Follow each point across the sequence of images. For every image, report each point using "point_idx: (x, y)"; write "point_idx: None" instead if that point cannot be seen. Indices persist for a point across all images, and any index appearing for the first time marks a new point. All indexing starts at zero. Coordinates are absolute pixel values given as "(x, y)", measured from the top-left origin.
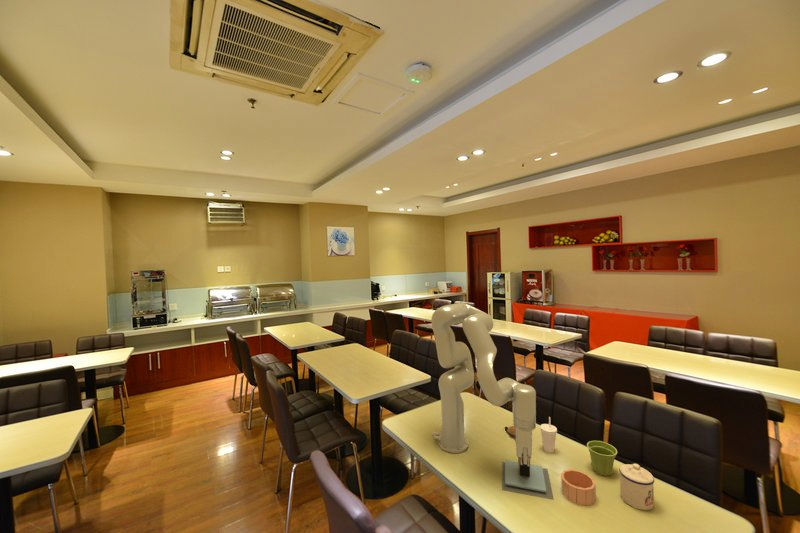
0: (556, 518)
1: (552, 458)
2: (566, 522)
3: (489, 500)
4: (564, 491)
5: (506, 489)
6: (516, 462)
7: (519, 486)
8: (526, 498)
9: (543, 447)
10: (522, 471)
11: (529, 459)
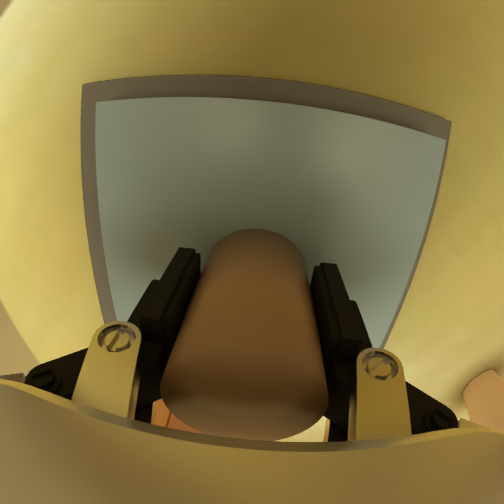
0: (37, 330)
1: (437, 396)
2: (41, 352)
3: (22, 35)
4: (159, 417)
5: (93, 112)
6: (413, 238)
7: (103, 214)
8: (77, 237)
9: (495, 378)
10: (145, 293)
11: (221, 435)
